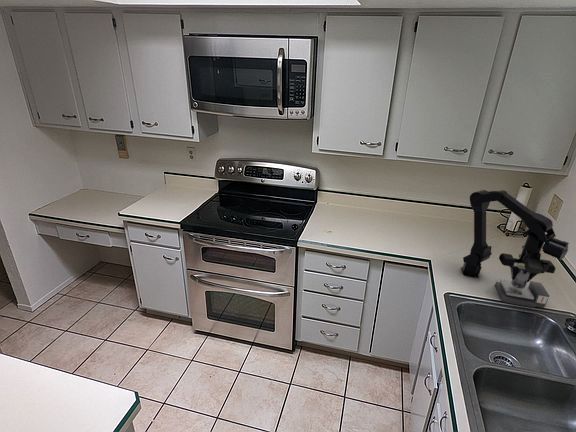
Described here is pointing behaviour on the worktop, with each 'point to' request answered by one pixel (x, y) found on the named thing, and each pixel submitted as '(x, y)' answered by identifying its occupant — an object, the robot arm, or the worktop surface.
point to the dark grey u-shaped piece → (536, 290)
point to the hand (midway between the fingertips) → (519, 280)
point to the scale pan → (516, 290)
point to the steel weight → (520, 277)
